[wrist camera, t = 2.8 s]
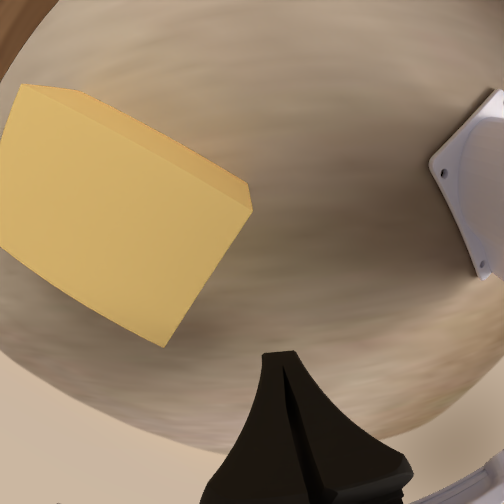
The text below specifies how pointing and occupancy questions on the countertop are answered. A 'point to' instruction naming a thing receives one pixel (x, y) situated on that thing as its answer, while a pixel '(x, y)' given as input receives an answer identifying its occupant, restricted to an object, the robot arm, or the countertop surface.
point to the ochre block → (113, 209)
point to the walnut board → (18, 26)
